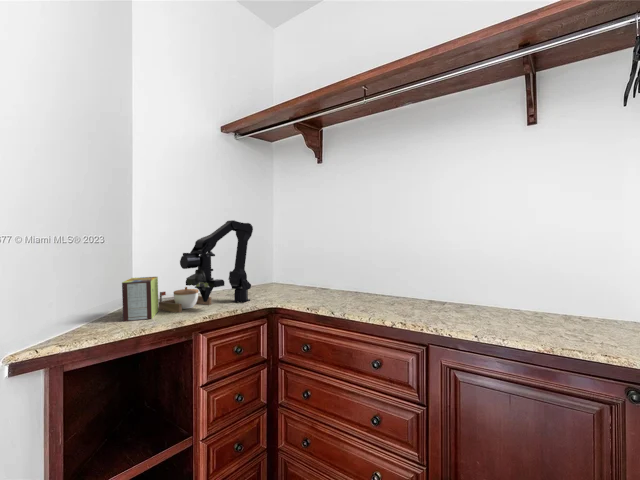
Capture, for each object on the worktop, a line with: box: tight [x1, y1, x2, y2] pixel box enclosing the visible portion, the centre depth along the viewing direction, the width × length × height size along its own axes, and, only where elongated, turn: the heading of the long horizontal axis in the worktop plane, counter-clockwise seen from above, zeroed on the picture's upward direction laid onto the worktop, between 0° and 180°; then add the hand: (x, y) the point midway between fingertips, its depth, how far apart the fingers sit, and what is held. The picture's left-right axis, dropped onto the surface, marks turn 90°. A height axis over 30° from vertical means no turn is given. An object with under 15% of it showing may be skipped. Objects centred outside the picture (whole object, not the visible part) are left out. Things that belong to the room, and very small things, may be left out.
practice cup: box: [158, 291, 212, 314], centre depth 152 cm, size 18×13×8 cm
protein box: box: [121, 276, 159, 322], centre depth 135 cm, size 10×15×16 cm
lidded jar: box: [173, 286, 199, 310], centre depth 152 cm, size 11×11×9 cm
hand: (205, 301), depth 146 cm, fingers closed
